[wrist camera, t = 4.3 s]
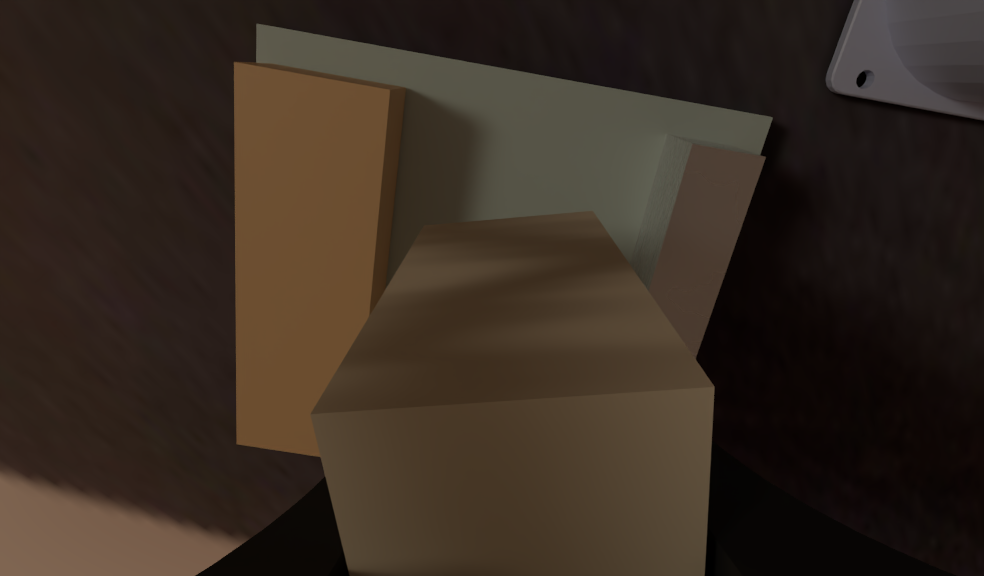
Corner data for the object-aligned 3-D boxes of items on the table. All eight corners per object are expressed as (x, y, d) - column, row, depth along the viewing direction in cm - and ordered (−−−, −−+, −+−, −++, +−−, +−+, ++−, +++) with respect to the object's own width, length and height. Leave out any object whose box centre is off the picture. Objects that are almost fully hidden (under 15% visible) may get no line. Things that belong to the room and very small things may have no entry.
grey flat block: (758, 114, 17) (817, 124, 14) (641, 465, 22) (664, 532, 19) (270, 26, 17) (213, 14, 13) (264, 407, 22) (222, 465, 19)
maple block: (592, 210, 13) (714, 386, 5) (600, 458, 15) (691, 821, 8) (424, 225, 13) (309, 413, 5) (458, 467, 15) (411, 828, 8)
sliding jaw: (406, 87, 16) (390, 89, 14) (371, 420, 21) (355, 462, 18) (272, 63, 16) (234, 62, 14) (266, 403, 20) (236, 444, 18)
